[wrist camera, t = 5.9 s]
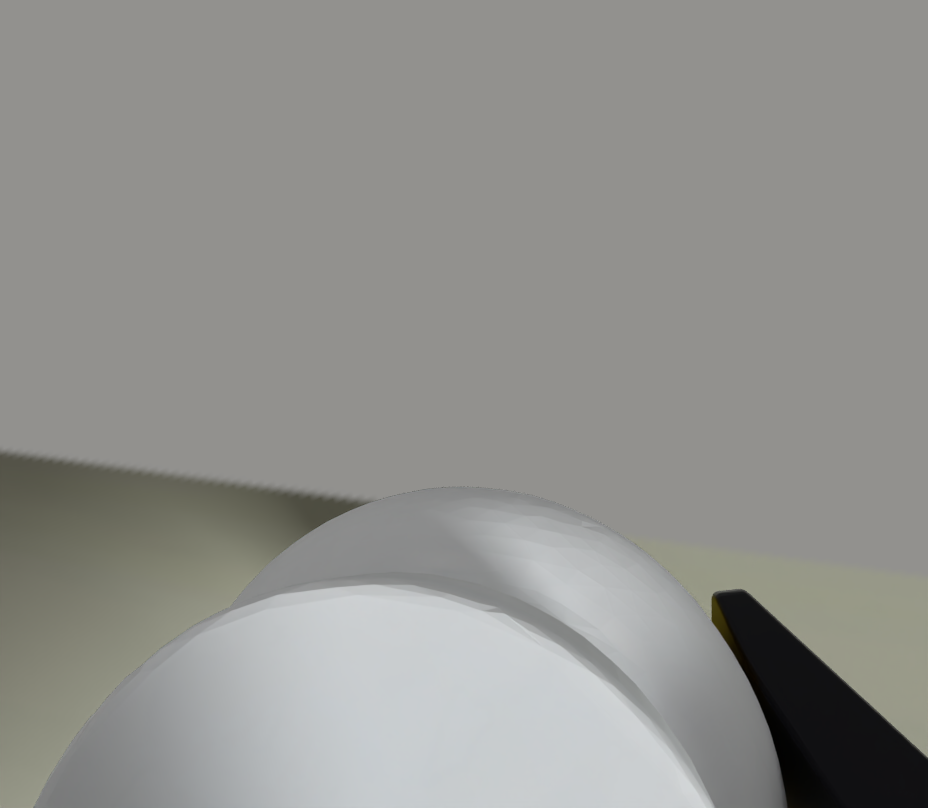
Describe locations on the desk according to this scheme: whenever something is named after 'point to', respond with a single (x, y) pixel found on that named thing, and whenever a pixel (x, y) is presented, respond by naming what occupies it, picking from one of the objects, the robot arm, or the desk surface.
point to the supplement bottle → (437, 678)
